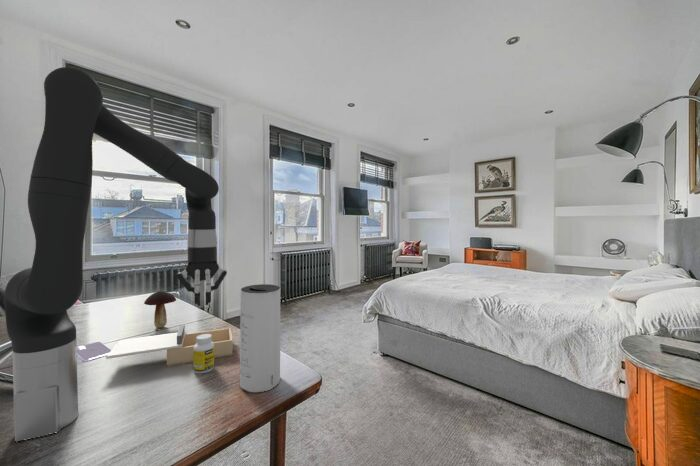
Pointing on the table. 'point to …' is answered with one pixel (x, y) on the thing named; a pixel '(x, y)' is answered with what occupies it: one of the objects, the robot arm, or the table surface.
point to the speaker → (259, 337)
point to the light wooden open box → (185, 353)
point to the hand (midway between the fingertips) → (203, 304)
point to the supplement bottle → (203, 354)
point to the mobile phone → (92, 351)
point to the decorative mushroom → (160, 306)
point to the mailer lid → (148, 344)
